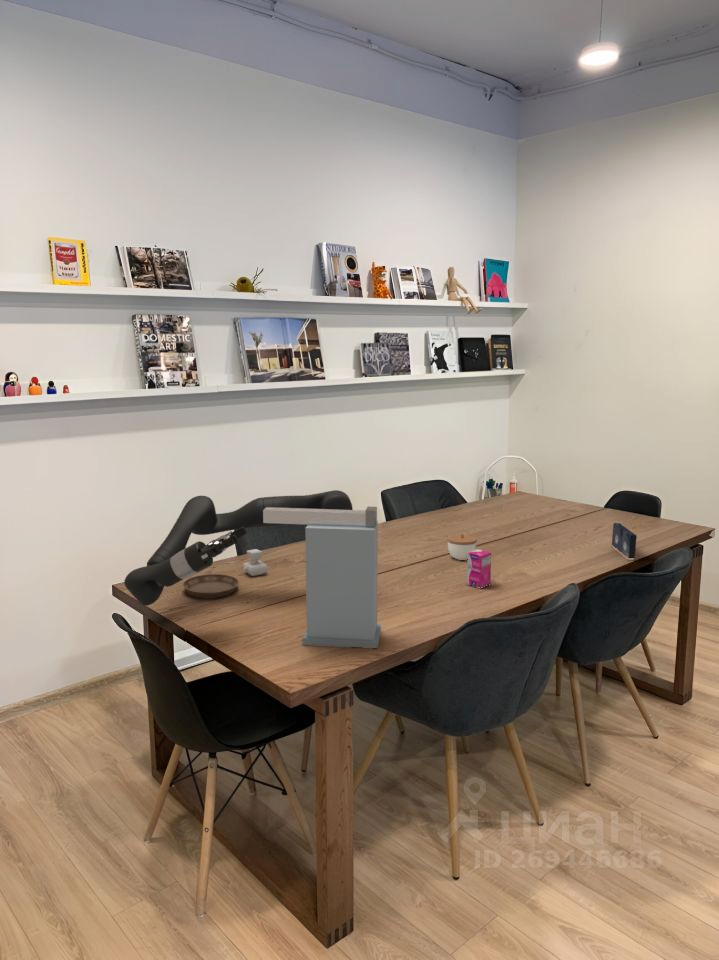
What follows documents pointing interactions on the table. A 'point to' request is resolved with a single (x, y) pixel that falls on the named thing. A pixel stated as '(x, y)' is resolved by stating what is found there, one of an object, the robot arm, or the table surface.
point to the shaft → (321, 516)
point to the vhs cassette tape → (624, 540)
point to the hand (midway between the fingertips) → (241, 533)
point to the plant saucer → (210, 585)
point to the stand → (341, 586)
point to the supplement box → (479, 568)
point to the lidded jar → (461, 545)
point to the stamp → (254, 563)
